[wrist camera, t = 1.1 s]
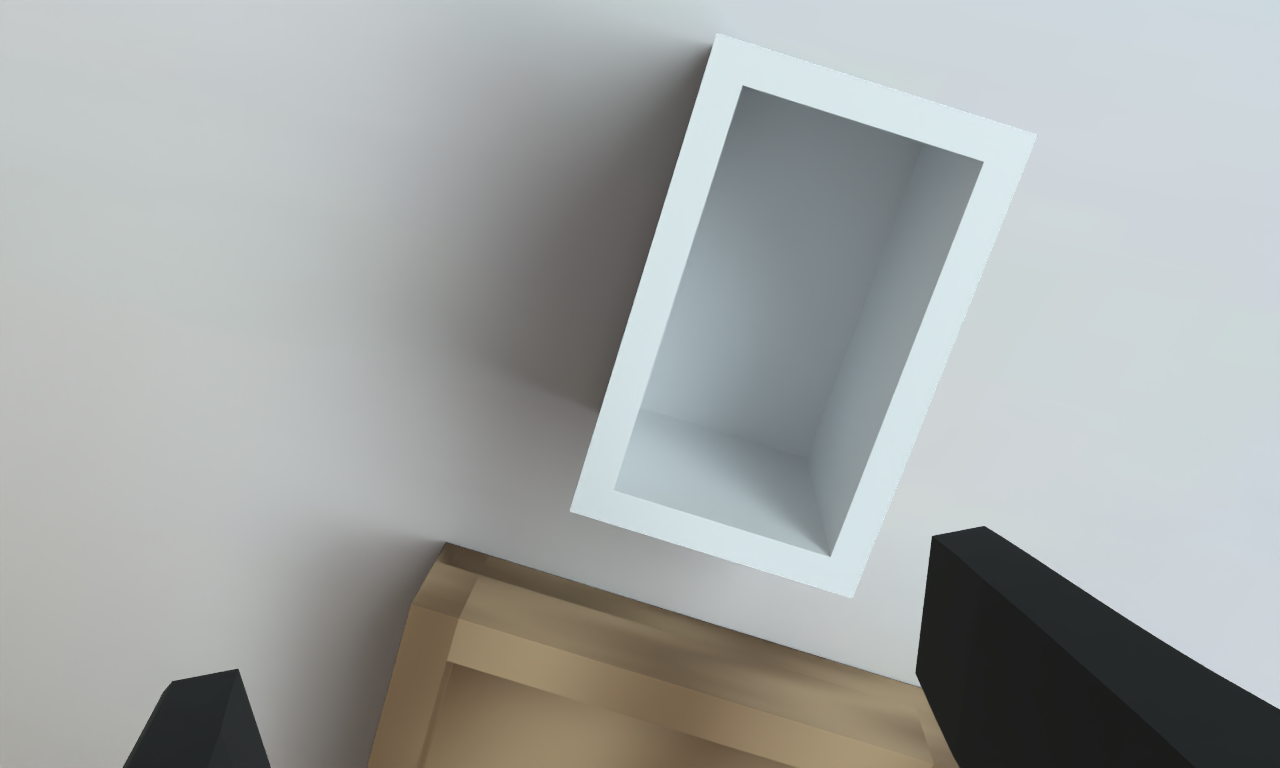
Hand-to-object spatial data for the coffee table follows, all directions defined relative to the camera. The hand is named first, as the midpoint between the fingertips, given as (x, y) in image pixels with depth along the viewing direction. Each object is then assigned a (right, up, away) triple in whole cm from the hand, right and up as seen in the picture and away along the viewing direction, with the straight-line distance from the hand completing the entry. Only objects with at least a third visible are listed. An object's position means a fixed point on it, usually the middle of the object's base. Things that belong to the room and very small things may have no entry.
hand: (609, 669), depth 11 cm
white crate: (+3, +5, +11) cm, 13 cm away
